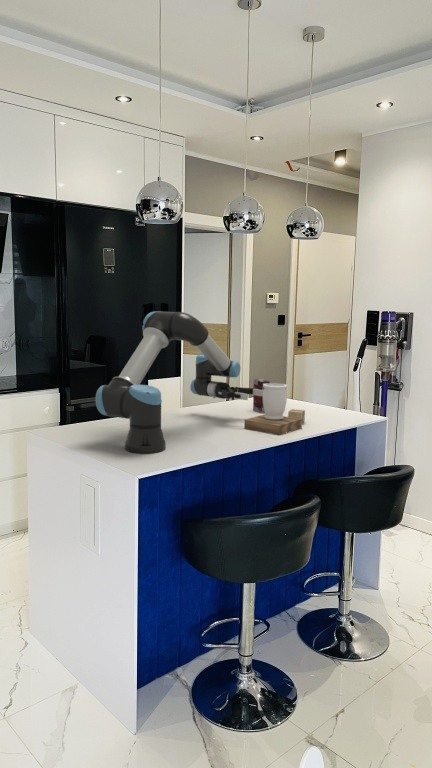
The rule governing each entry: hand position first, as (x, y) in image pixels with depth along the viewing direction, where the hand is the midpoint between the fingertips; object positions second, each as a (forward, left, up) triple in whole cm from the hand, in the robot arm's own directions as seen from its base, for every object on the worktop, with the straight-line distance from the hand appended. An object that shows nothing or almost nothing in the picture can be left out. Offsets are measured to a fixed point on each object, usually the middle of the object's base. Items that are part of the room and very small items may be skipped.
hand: (256, 395), depth 268 cm
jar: (+2, -8, -10) cm, 13 cm away
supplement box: (+28, +17, -14) cm, 35 cm away
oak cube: (+16, -11, -14) cm, 24 cm away
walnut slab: (0, -9, -13) cm, 16 cm away
